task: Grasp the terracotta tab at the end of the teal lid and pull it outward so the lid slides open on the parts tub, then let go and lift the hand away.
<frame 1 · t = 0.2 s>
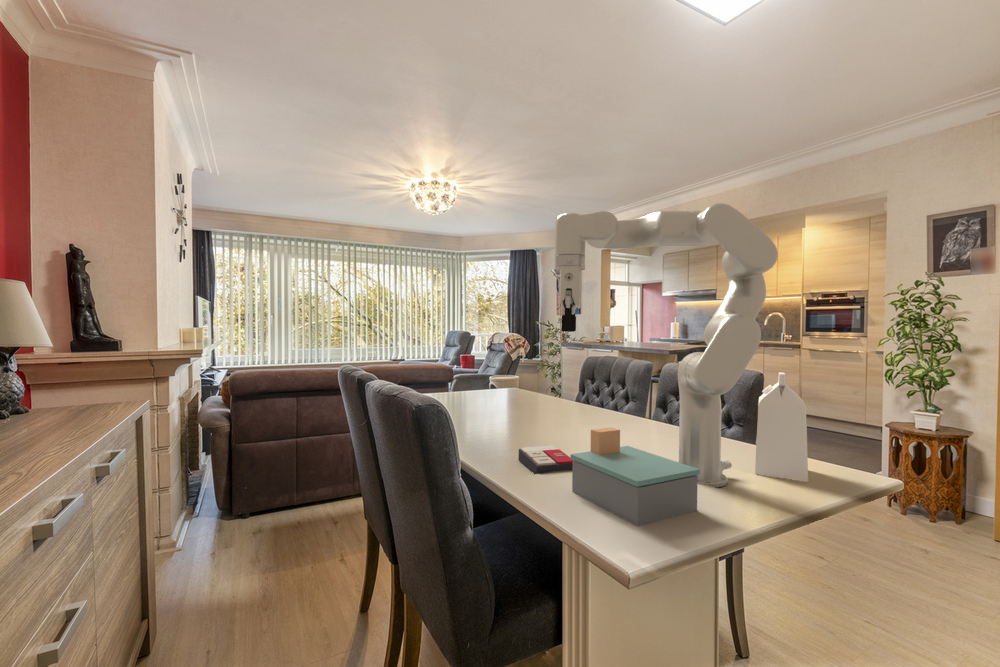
hand: (568, 331, 118), 37 cm above the table, tool pointing down, fingers open, 9 cm apart
calculator: (546, 468, 126), on the table
tub: (631, 505, 98), on the table
milk: (780, 472, 123), on the table
bushing b: (607, 496, 101), point 1 cm above the table, touching tub
lid: (632, 451, 98), point 11 cm above the table, slide at 0.0 cm
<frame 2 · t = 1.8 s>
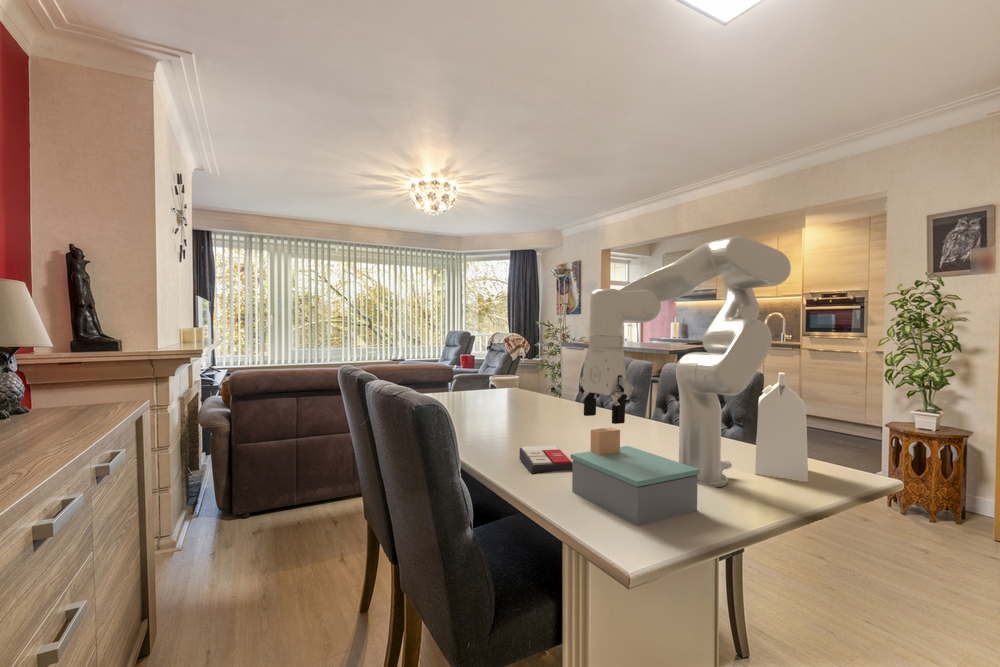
hand: (603, 419, 106), 17 cm above the table, tool pointing down, fingers open, 9 cm apart
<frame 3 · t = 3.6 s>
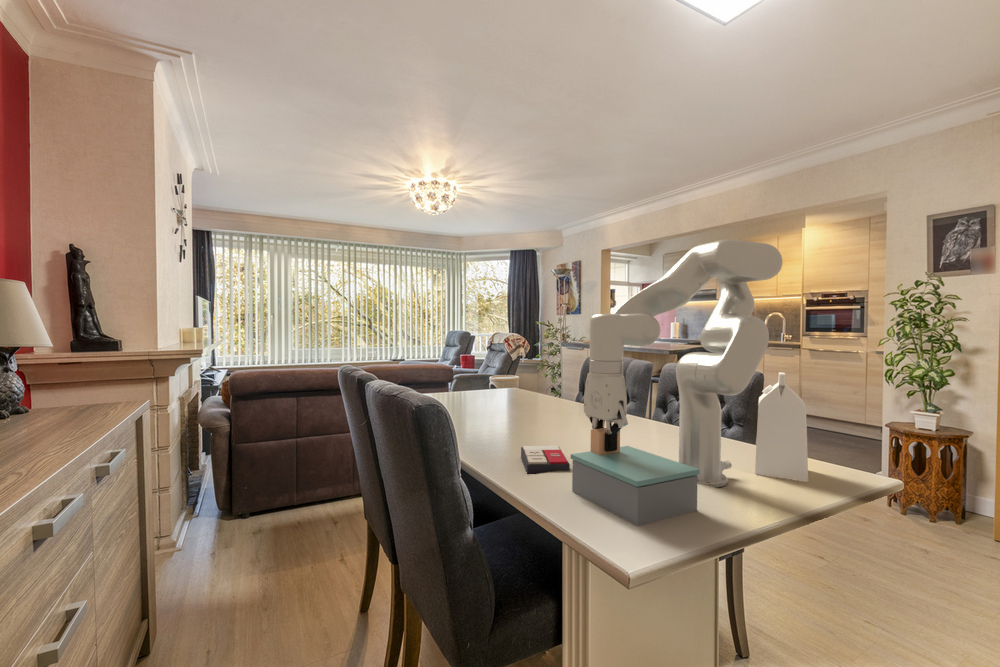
hand: (605, 448, 106), 10 cm above the table, tool pointing down, fingers closed on lid, 3 cm apart
lid: (632, 451, 98), point 11 cm above the table, slide at 0.0 cm, touching gripper
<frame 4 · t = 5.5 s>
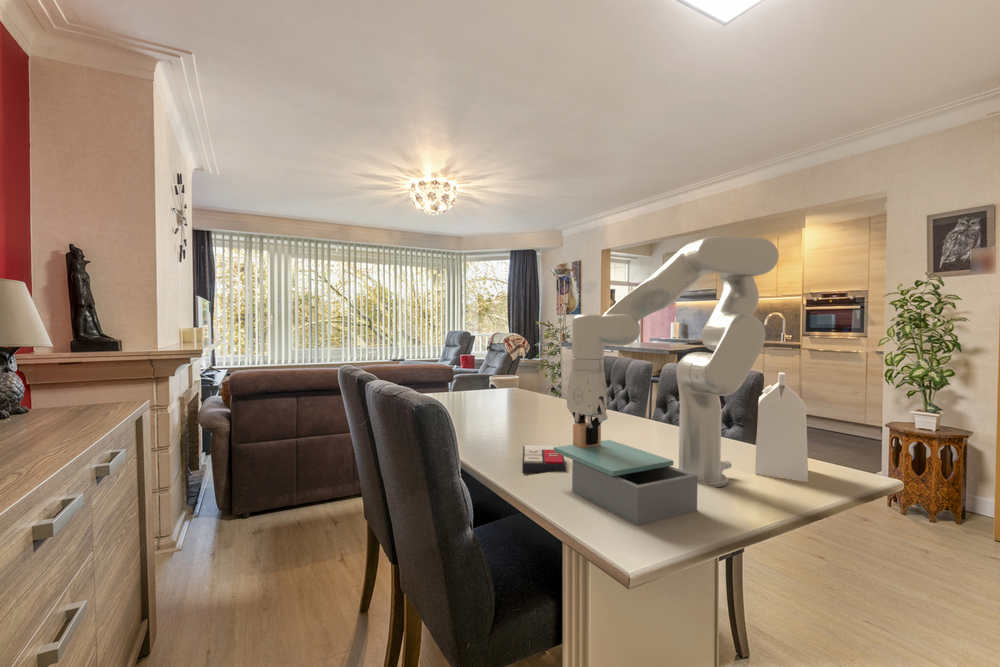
hand: (586, 441, 112), 10 cm above the table, tool pointing down, fingers closed on lid, 3 cm apart
lid: (610, 444, 104), point 11 cm above the table, slide at 6.7 cm, touching gripper
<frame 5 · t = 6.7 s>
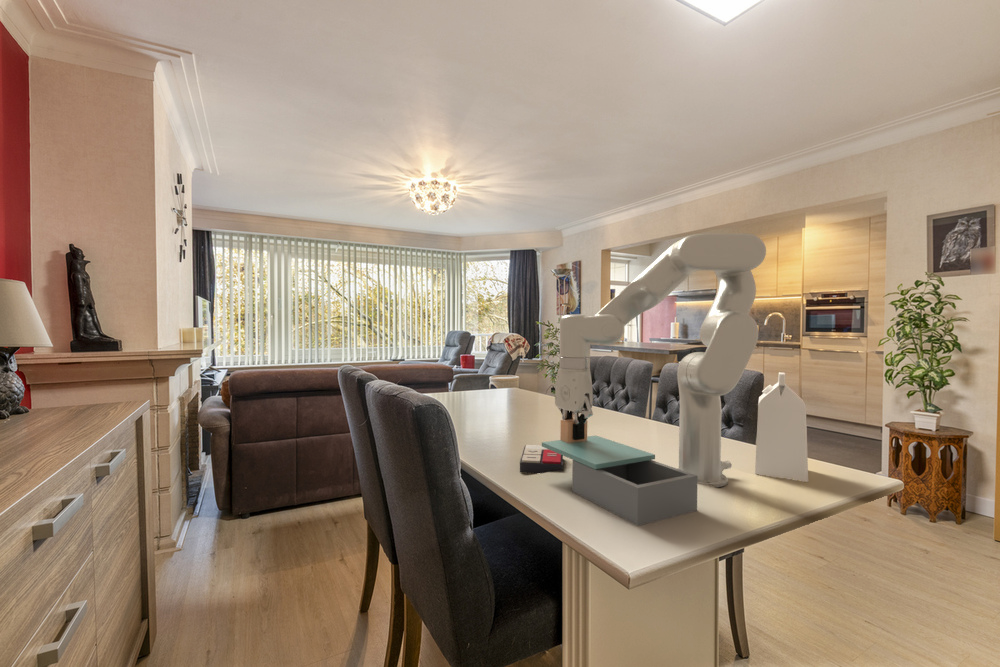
hand: (573, 437, 116), 10 cm above the table, tool pointing down, fingers closed on lid, 3 cm apart
lid: (595, 439, 109), point 11 cm above the table, slide at 11.8 cm, touching gripper
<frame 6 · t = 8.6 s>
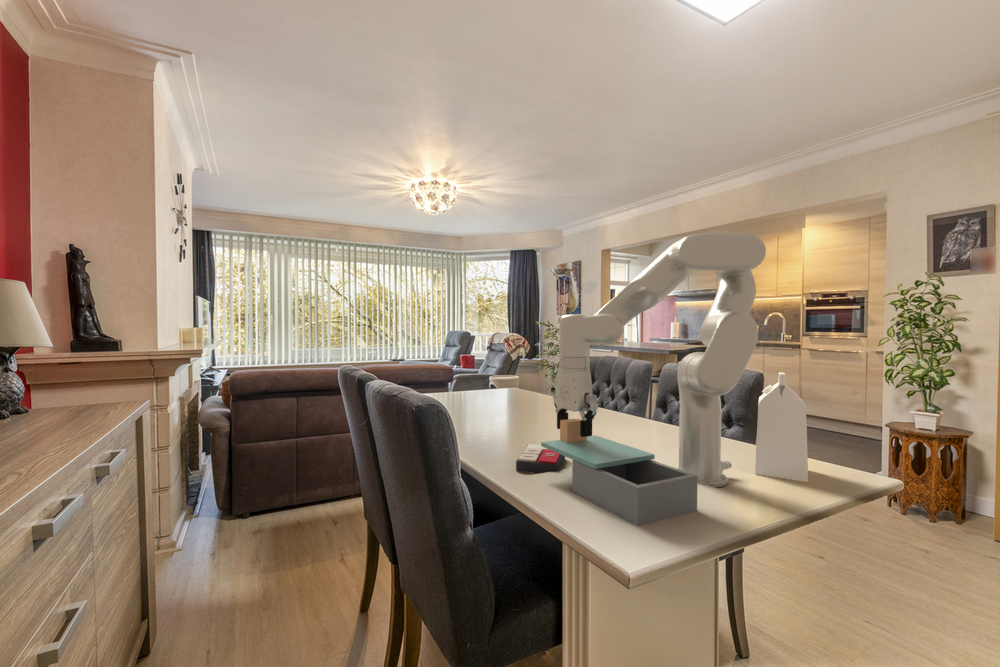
hand: (573, 432, 116), 11 cm above the table, tool pointing down, fingers open, 9 cm apart
lid: (595, 439, 109), point 11 cm above the table, slide at 12.0 cm
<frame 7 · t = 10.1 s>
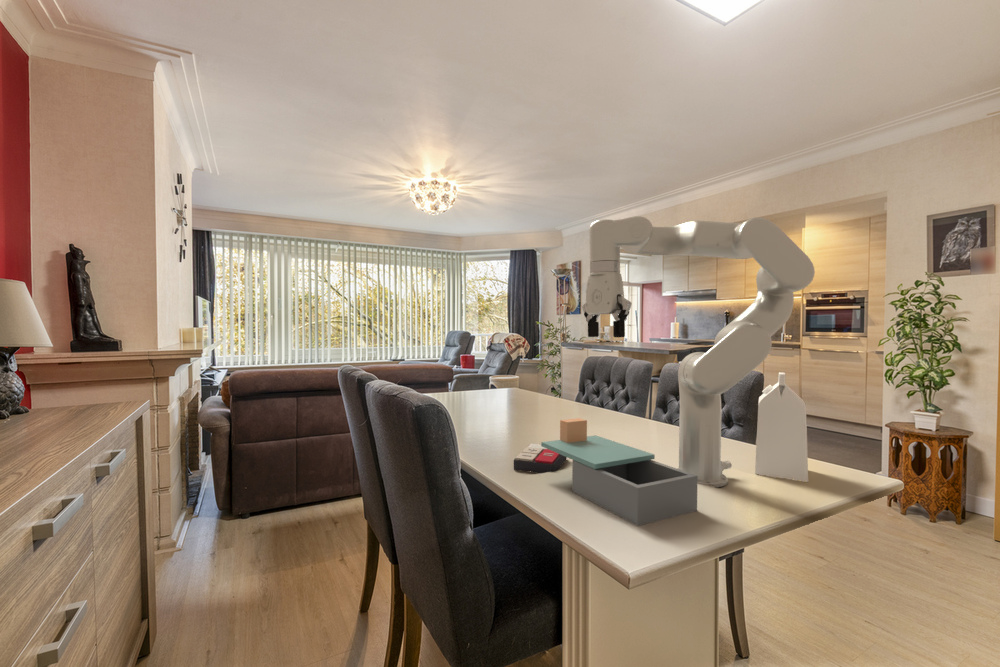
hand: (605, 337, 119), 35 cm above the table, tool pointing down, fingers open, 9 cm apart
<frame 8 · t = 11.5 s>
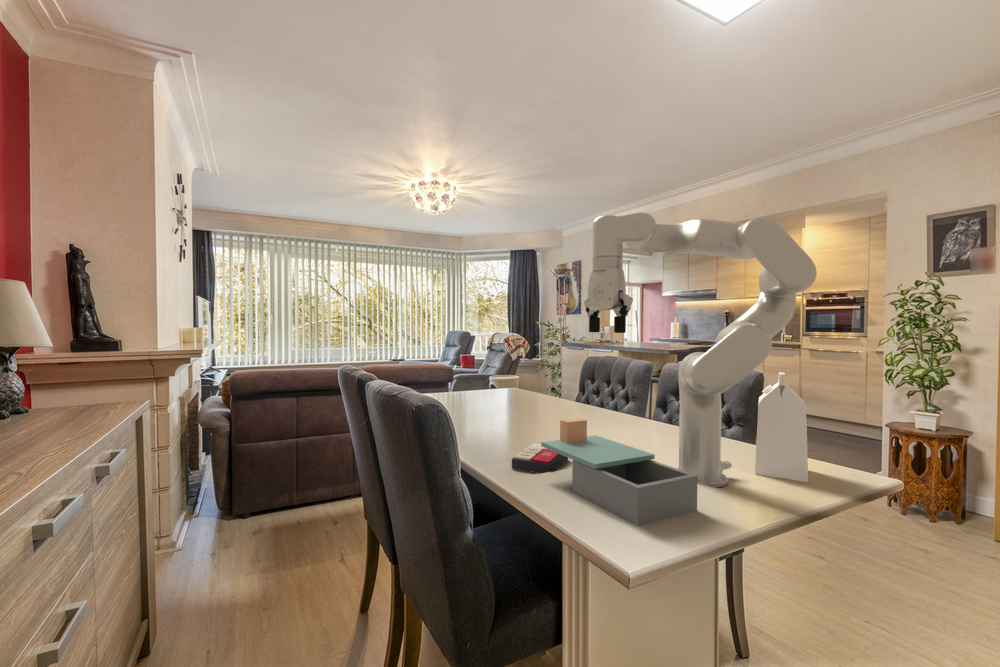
hand: (606, 332, 119), 36 cm above the table, tool pointing down, fingers open, 9 cm apart
at the end: lid slide at 12.0 cm; the gripper is holding nothing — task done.
